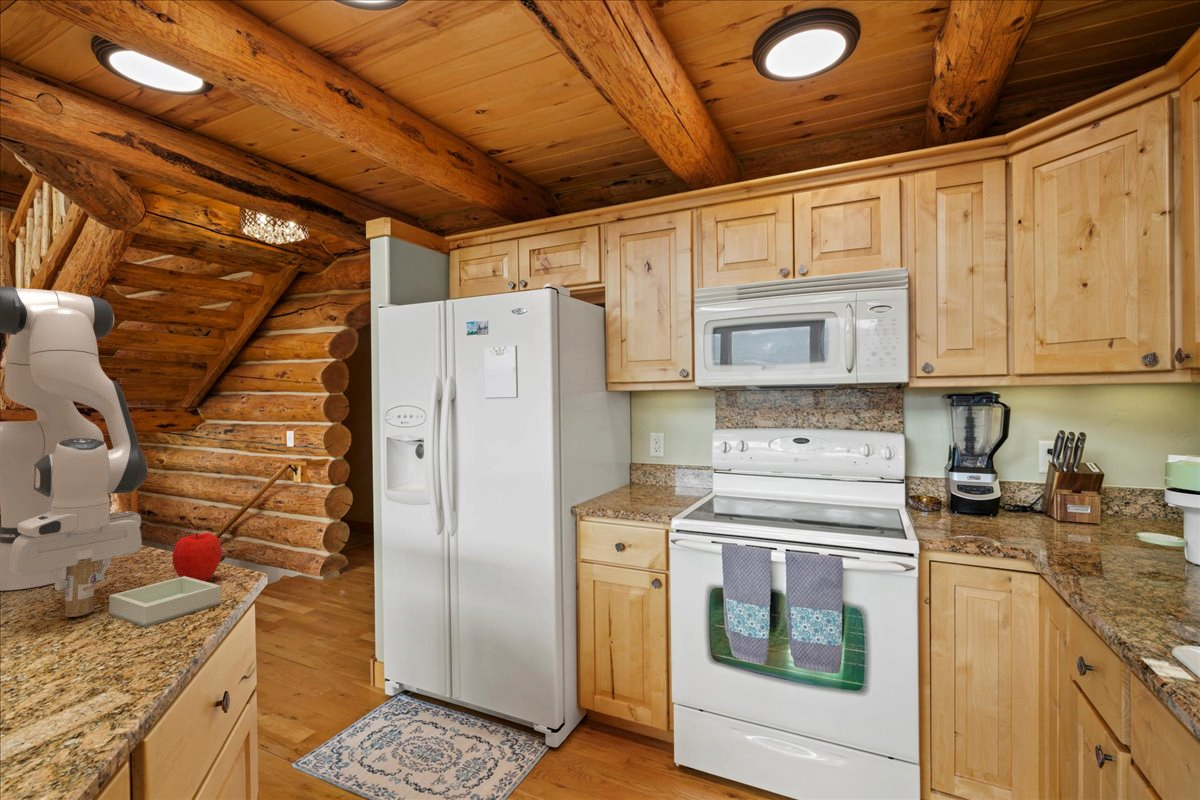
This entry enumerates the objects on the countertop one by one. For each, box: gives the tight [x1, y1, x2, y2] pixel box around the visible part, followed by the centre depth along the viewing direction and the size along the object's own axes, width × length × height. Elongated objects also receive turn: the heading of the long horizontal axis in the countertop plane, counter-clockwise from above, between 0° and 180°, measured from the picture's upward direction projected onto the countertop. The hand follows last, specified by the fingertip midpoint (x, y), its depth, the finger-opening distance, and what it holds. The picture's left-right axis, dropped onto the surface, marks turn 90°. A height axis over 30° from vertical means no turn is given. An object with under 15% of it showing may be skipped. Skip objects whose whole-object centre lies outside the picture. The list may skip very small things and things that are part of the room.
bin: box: [108, 576, 222, 628], centre depth 118 cm, size 14×14×4 cm
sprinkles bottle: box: [64, 549, 95, 618], centre depth 114 cm, size 5×5×14 cm
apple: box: [171, 532, 223, 582], centre depth 136 cm, size 10×10×12 cm
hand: (79, 584), depth 114 cm, fingers closed on sprinkles bottle, 4 cm apart
